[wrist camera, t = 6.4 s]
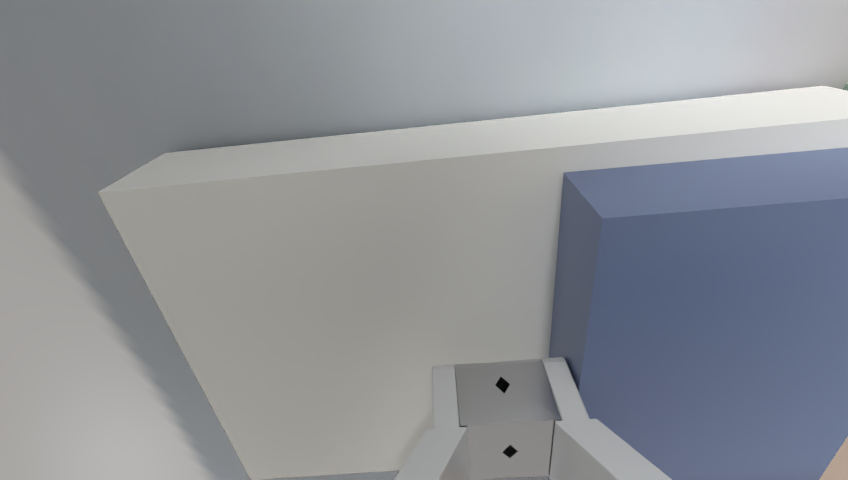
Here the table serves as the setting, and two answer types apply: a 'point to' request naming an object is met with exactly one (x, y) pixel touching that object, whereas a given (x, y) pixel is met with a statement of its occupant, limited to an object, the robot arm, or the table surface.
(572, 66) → the table surface
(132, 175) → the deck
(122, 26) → the table surface
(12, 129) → the table surface
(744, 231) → the tile
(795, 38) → the table surface
